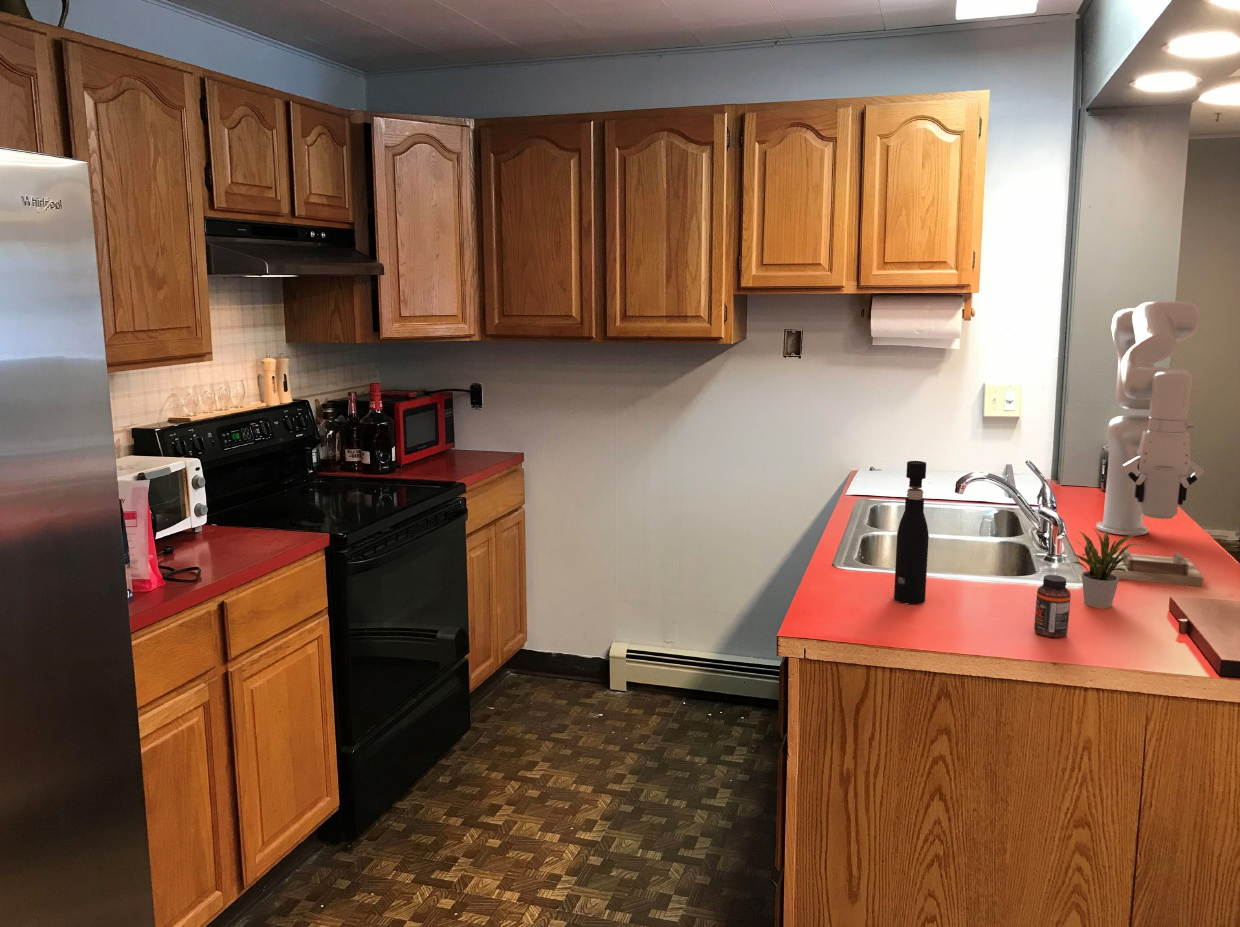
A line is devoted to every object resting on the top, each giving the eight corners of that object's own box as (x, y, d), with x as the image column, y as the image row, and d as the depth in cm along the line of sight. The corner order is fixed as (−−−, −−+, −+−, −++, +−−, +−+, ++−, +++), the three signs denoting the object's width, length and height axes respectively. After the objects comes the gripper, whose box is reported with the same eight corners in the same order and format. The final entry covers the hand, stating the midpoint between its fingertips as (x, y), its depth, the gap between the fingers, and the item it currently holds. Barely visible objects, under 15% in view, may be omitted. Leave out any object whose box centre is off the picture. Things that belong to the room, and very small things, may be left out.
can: (1167, 512, 226) (1173, 461, 224) (1182, 520, 219) (1188, 467, 217) (1134, 511, 227) (1139, 461, 225) (1147, 519, 220) (1153, 467, 217)
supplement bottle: (1027, 628, 191) (1032, 573, 189) (1057, 627, 191) (1061, 572, 189) (1043, 639, 185) (1048, 582, 183) (1073, 638, 185) (1078, 581, 183)
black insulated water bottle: (925, 596, 210) (933, 460, 204) (924, 605, 204) (932, 465, 199) (894, 593, 212) (901, 458, 207) (892, 602, 206) (899, 464, 201)
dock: (1104, 559, 237) (1105, 542, 236) (1187, 566, 231) (1189, 548, 230) (1112, 578, 222) (1114, 559, 222) (1202, 586, 216) (1204, 566, 216)
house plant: (1152, 604, 204) (1160, 529, 201) (1130, 621, 195) (1137, 542, 192) (1081, 590, 214) (1088, 518, 211) (1057, 604, 204) (1063, 529, 201)
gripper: (1207, 425, 220) (1199, 501, 223) (1121, 422, 225) (1114, 496, 229) (1214, 430, 213) (1206, 508, 216) (1126, 426, 218) (1119, 503, 222)
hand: (1159, 501), depth 222 cm, fingers closed on can, 7 cm apart
